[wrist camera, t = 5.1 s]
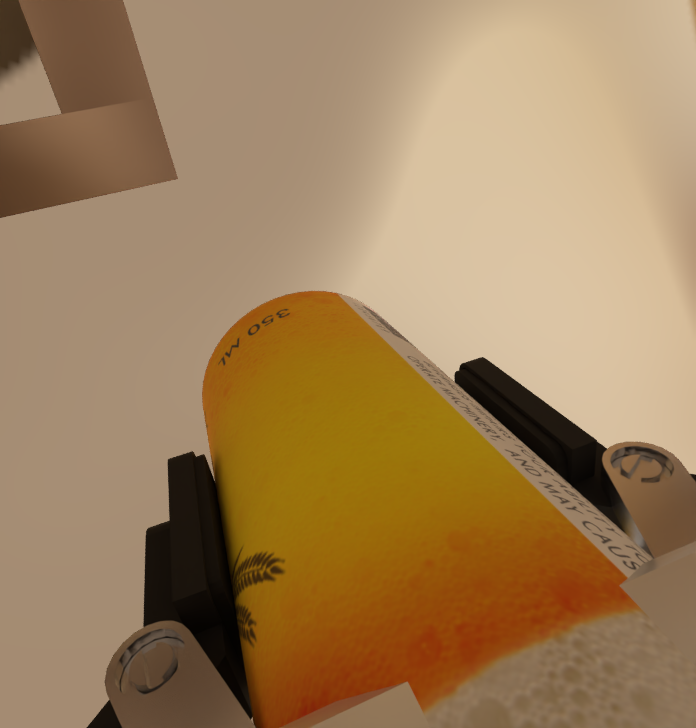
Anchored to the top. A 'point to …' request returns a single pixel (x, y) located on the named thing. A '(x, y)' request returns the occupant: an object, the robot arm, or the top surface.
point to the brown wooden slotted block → (84, 112)
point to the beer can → (414, 541)
